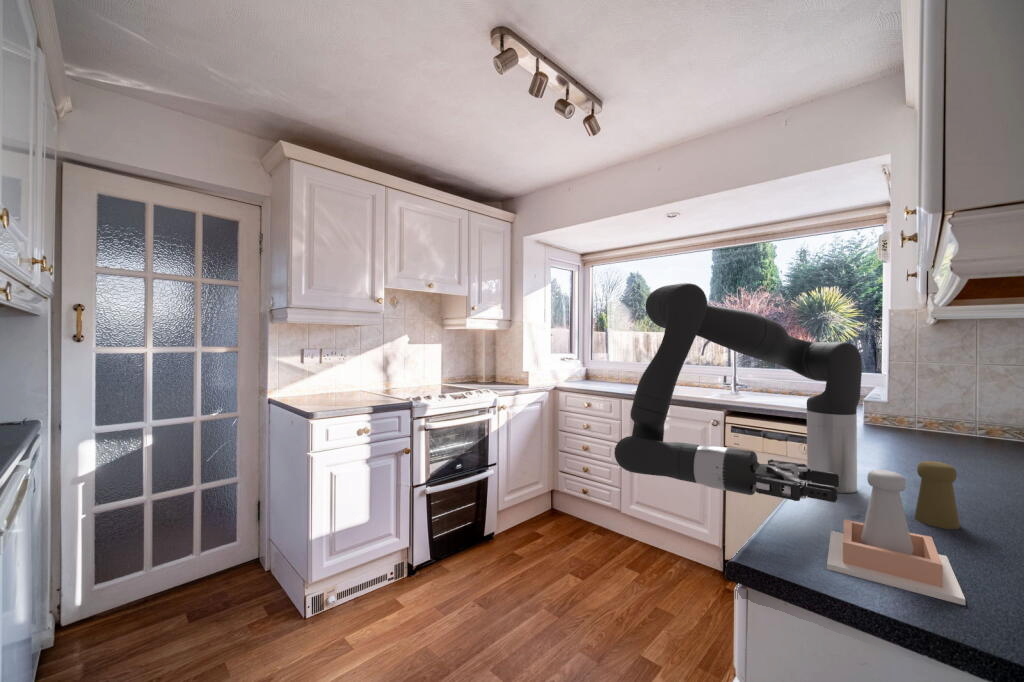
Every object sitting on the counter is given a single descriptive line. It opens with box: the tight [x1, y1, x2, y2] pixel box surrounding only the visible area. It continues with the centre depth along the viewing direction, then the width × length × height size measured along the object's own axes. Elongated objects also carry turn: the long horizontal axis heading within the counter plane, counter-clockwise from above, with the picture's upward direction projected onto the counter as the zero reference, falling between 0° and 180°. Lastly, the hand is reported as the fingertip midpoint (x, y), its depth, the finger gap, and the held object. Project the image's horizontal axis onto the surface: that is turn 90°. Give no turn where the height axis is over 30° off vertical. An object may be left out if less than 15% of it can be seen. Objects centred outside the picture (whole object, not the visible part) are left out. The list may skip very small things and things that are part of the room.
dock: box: [826, 519, 966, 606], centre depth 64 cm, size 14×14×4 cm
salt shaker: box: [861, 469, 913, 555], centre depth 64 cm, size 6×6×13 cm
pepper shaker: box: [914, 460, 961, 530], centre depth 79 cm, size 6×6×11 cm
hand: (838, 487), depth 67 cm, fingers open, 8 cm apart
